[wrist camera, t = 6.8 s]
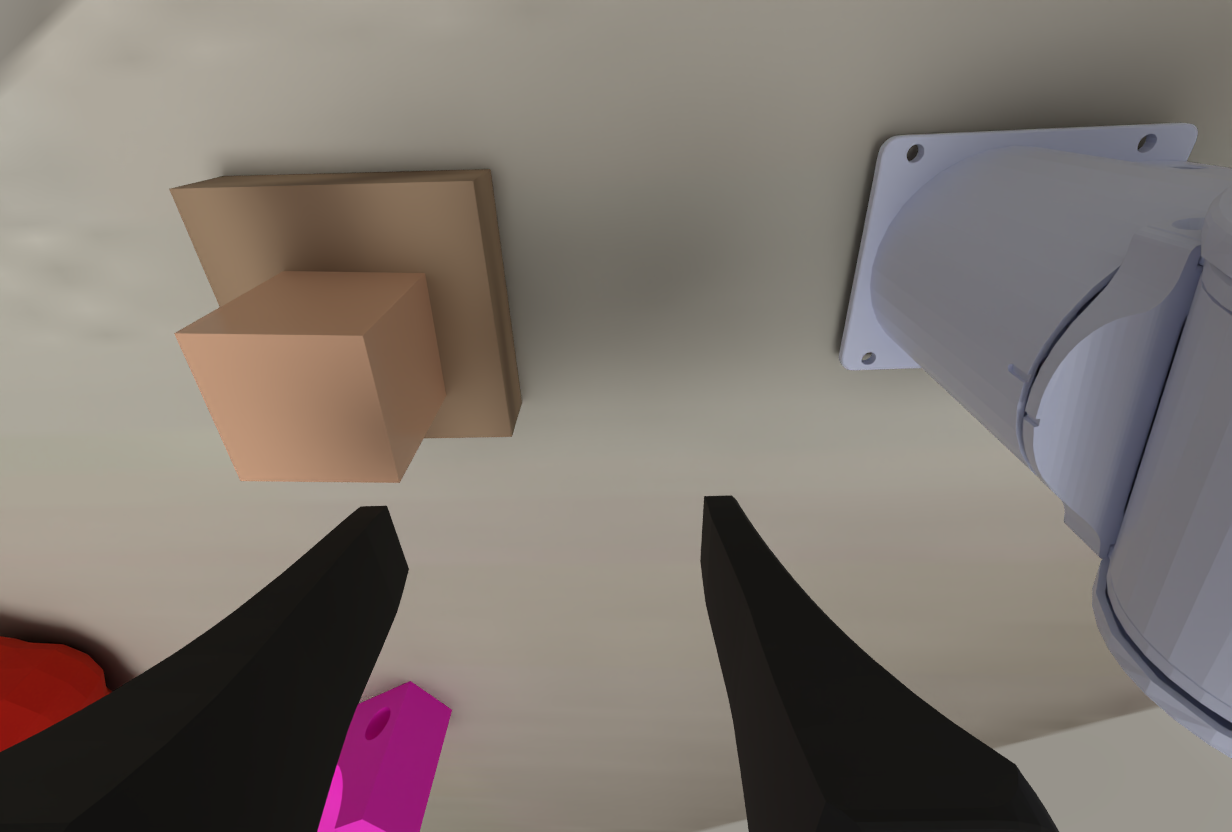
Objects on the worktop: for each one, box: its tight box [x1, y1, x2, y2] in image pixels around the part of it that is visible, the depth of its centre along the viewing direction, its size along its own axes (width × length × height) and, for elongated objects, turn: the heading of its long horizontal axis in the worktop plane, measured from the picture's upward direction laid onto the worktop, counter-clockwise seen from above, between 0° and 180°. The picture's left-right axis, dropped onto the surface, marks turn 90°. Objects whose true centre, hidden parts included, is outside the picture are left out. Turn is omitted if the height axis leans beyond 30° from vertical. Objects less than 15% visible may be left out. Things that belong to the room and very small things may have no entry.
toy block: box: [317, 681, 452, 832], centre depth 34 cm, size 15×6×8 cm, turn 123°
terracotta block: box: [174, 271, 446, 483], centre depth 16 cm, size 4×4×5 cm
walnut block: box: [170, 169, 522, 438], centre depth 19 cm, size 9×9×3 cm
